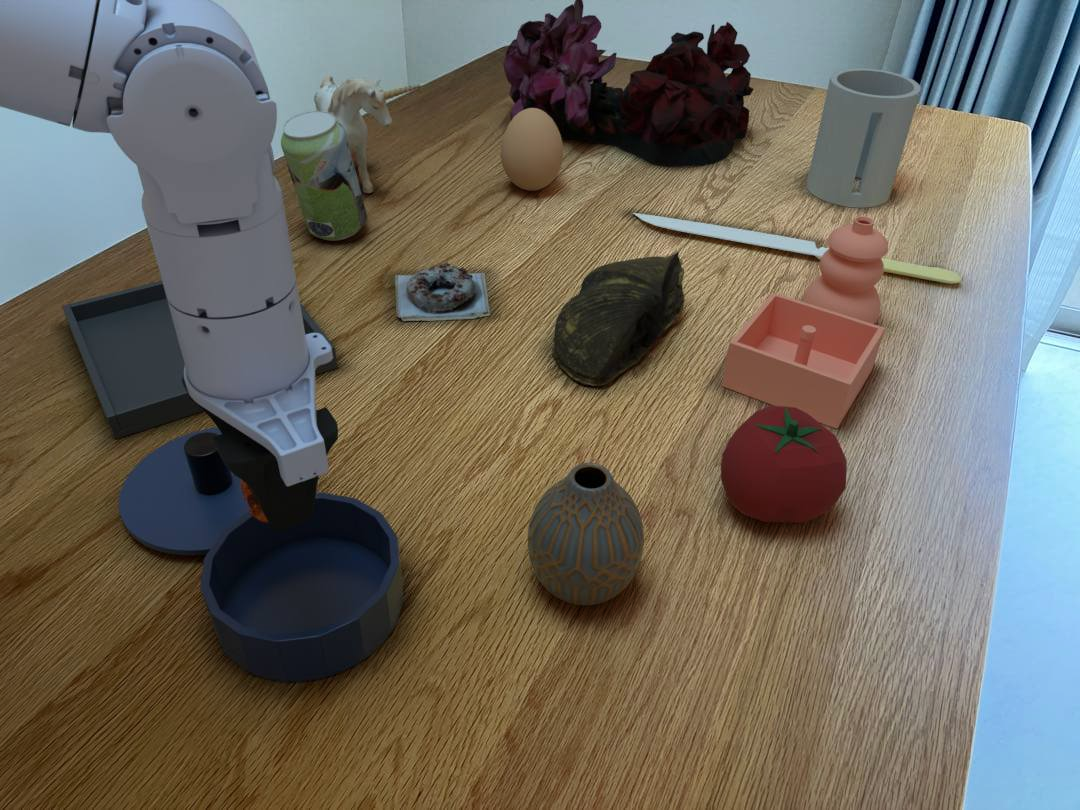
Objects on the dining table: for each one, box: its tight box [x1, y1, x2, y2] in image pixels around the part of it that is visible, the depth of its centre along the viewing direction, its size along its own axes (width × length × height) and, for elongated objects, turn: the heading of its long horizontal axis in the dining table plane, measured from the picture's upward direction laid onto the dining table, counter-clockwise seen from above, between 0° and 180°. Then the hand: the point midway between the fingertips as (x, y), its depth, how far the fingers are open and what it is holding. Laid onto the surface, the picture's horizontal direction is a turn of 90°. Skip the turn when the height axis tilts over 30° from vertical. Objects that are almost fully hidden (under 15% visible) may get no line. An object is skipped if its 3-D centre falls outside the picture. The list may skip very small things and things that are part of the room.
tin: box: [199, 492, 405, 683], centre depth 52 cm, size 11×11×4 cm
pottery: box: [721, 215, 889, 430], centre depth 72 cm, size 18×10×10 cm, turn 147°
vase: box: [527, 462, 645, 606], centre depth 52 cm, size 7×7×9 cm
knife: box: [632, 212, 963, 285], centre depth 89 cm, size 1×33×5 cm
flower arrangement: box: [502, 0, 755, 168], centre depth 107 cm, size 31×20×15 cm, turn 76°
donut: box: [394, 261, 491, 322], centre depth 80 cm, size 8×8×2 cm
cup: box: [805, 67, 922, 209], centre depth 97 cm, size 9×9×12 cm
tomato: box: [720, 405, 848, 524], centre depth 59 cm, size 8×8×7 cm
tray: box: [61, 280, 338, 440], centre depth 73 cm, size 17×17×2 cm
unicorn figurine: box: [313, 75, 423, 195], centre depth 94 cm, size 7×20×13 cm, turn 37°
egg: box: [500, 108, 564, 192], centre depth 96 cm, size 7×7×9 cm
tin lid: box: [118, 426, 250, 556], centre depth 59 cm, size 12×12×5 cm
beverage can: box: [280, 110, 368, 242], centre depth 86 cm, size 6×7×12 cm
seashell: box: [551, 251, 685, 387], centre depth 75 cm, size 16×9×7 cm, turn 149°
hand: (278, 498), depth 49 cm, fingers closed on meatball, 4 cm apart
